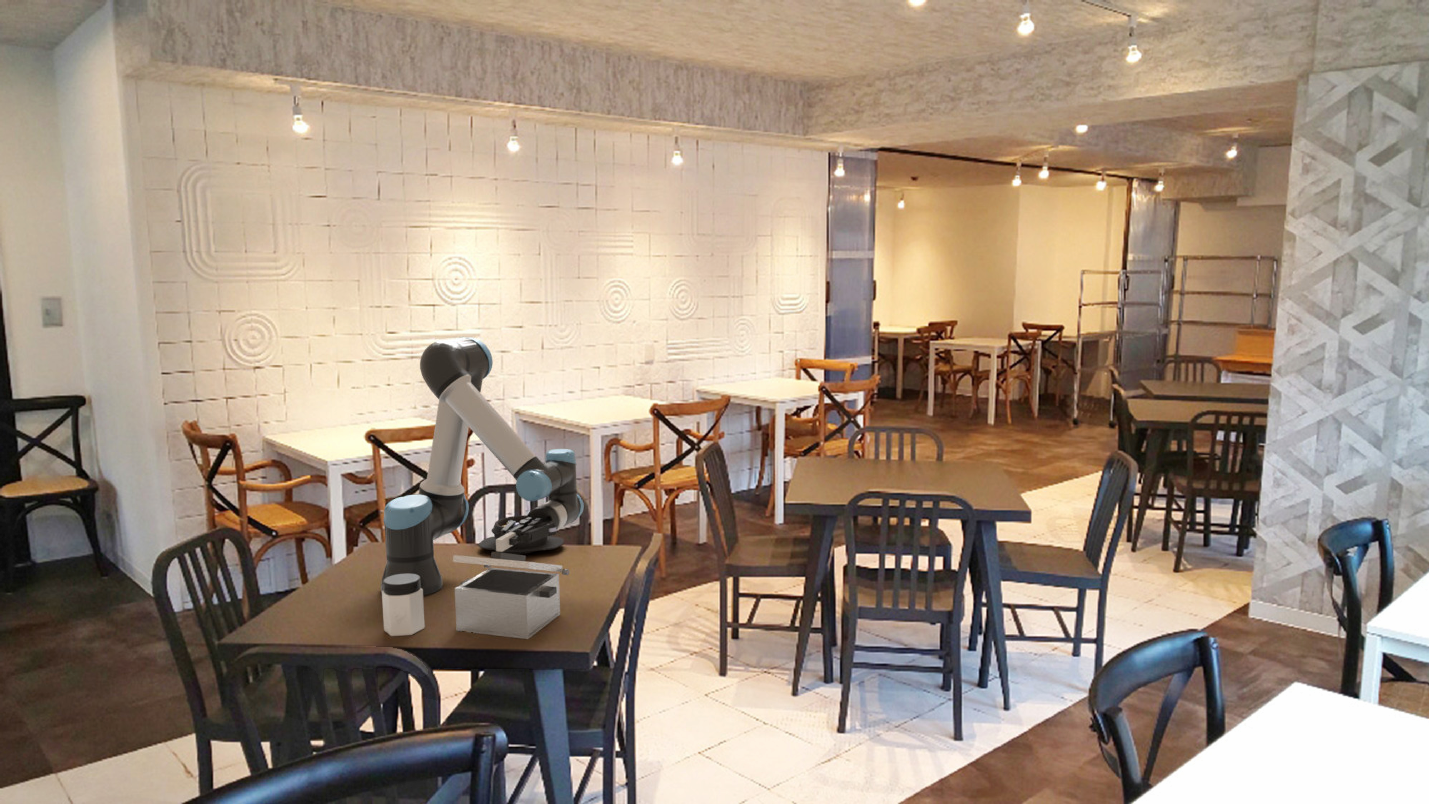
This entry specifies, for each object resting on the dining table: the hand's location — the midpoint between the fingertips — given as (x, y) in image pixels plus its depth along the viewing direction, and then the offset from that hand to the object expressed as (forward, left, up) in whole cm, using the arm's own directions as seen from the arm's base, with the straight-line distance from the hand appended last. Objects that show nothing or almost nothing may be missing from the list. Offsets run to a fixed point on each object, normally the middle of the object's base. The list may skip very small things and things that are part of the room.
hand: (498, 545), depth 216 cm
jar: (-22, -6, -20) cm, 30 cm away
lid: (-1, +5, -7) cm, 8 cm away
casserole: (-27, +59, -20) cm, 68 cm away
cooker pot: (-1, +5, -20) cm, 20 cm away
